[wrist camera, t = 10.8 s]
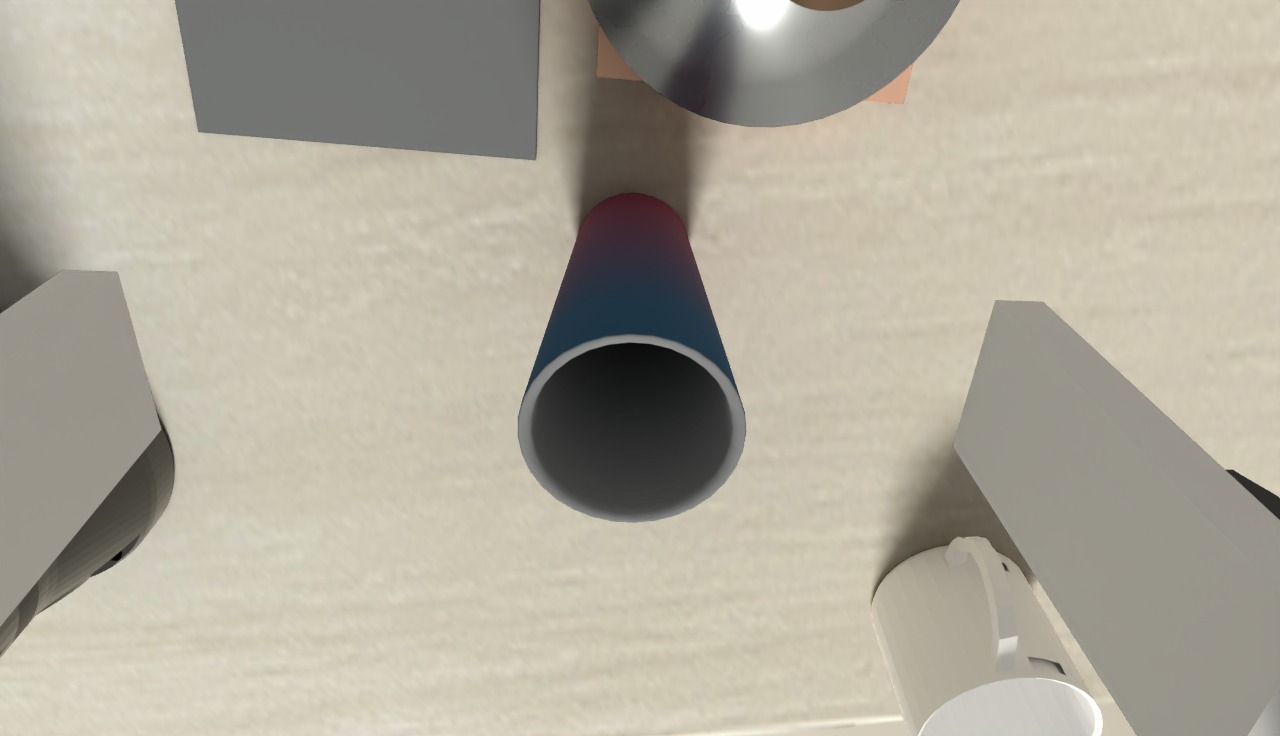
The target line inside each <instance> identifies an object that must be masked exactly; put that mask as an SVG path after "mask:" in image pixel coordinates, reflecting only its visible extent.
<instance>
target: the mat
mask: <svg viewBox="0 0 1280 736" xmlns="http://www.w3.org/2000/svg"><path fill="white" fill-rule="evenodd" d="M175 4H176V9H177V15H178V20H179V26H180V32H181V37H182V43H183V48H184V54H185V60H186V65H187V71H188V76H189V82H190V88H191V93H192V99H193V104H194V110H195V115H196V121H197V127H198V132H203V133H215V134H227V135H239V136H251V137H263V138H275V139H287V140H299V141H311V142H323V143H335V144H347V145H359V146H371V147H383V148H395V149H407V150H419V151H431V152H443V153H455V154H467V155H479V156H491V157H503V158H515V159H527V160H536V148H537V106H538V65H539V23H540V0H175Z"/></svg>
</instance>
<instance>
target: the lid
mask: <svg viewBox="0 0 1280 736" xmlns="http://www.w3.org/2000/svg"><path fill="white" fill-rule="evenodd" d="M588 1H589V3H590V6H591V8H592V11H593V13H594V15H595V17H596V18H597V20H598V22H599V24H600V26H601V28H602V30H603V32H604V33H605V35H606V37H607V38H608V40H609V41H610V42H611V44H612V45H613V47H614V48H615V49H616V51H617V52H618V54H619V55H620V57H621V58H622V59H623V60H624V61H625V62H626V63H627V64H628V65H629V66H630V68H631V69H632V70H633V71H634V72H635V73H636V74H637V75H638V76H639V77H640V78H641V79H642V80H644V81H645V82H646V83H647V84H648V85H650V86H651V87H652V88H653V89H654V90H655V91H657V92H658V93H659V94H661V95H663V96H664V97H666V98H667V99H669V100H671V101H672V102H674V103H675V104H677V105H678V106H680V107H683V108H685V109H687V110H689V111H691V112H694V113H696V114H698V115H700V116H703V117H706V118H710V119H713V120H716V121H720V122H723V123H728V124H734V125H741V126H747V127H780V126H789V125H798V124H802V123H806V122H810V121H814V120H818V119H822V118H825V117H827V116H830V115H833V114H835V113H838V112H841V111H843V110H846V109H848V108H850V107H852V106H853V105H855V104H857V103H859V102H861V101H863V100H865V99H867V98H869V97H870V96H872V95H873V94H875V93H876V92H878V91H879V90H880V89H882V88H883V87H885V86H886V85H888V84H889V83H891V82H892V81H893V80H894V79H895V78H897V77H898V76H899V75H900V74H901V73H902V72H903V71H905V70H906V69H907V68H908V67H909V66H910V65H912V64H913V63H914V61H915V60H916V59H917V58H918V57H919V56H920V55H921V54H922V53H923V52H924V51H925V50H926V48H927V47H928V46H929V45H930V44H931V43H932V42H933V40H934V39H935V38H936V36H937V35H938V34H939V32H940V31H941V29H942V28H943V27H944V25H945V24H946V23H947V21H948V20H949V18H950V17H951V15H952V13H953V12H954V10H955V8H956V6H957V5H958V3H959V1H960V0H588Z"/></svg>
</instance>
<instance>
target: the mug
mask: <svg viewBox="0 0 1280 736" xmlns="http://www.w3.org/2000/svg"><path fill="white" fill-rule="evenodd" d="M871 618H872V624H873V627H874V630H875V633H876V636H877V639H878V642H879V645H880V648H881V652H882V655H883V658H884V661H885V664H886V667H887V670H888V673H889V676H890V679H891V682H892V686H893V689H894V692H895V695H896V698H897V701H898V704H899V707H900V710H901V713H902V717H903V720H904V723H905V726H906V729H907V732H908V735H909V736H1100V735H1101V733H1102V724H1103V720H1102V716H1101V711H1100V709H1099V707H1098V705H1097V704H1096V702H1095V700H1094V698H1093V697H1092V695H1091V693H1090V691H1089V690H1088V688H1087V686H1086V684H1085V682H1084V681H1083V679H1082V677H1081V675H1080V674H1079V672H1078V670H1077V668H1076V667H1075V665H1074V663H1073V661H1072V659H1071V658H1070V656H1069V654H1068V652H1067V651H1066V649H1065V647H1064V645H1063V644H1062V642H1061V640H1060V638H1059V636H1058V635H1057V633H1056V631H1055V629H1054V628H1053V626H1052V624H1051V622H1050V621H1049V619H1048V617H1047V615H1046V614H1045V612H1044V610H1043V608H1042V606H1041V605H1040V603H1039V601H1038V599H1037V598H1036V596H1035V594H1034V592H1033V591H1032V589H1031V587H1030V585H1029V583H1028V582H1027V580H1026V578H1025V576H1024V575H1023V573H1022V572H1021V570H1020V568H1019V567H1018V566H1017V565H1016V564H1015V563H1014V562H1013V561H1012V560H1011V559H1009V558H1007V557H1005V556H1004V555H1002V554H1000V553H998V552H996V551H995V549H994V548H993V547H992V546H991V544H990V542H989V540H987V539H986V538H980V537H979V536H975V537H965V538H961V537H956V539H953V540H952V542H951V543H950V545H947V546H940V547H936V548H932V549H929V550H926V551H922V552H920V553H918V554H916V555H914V556H912V557H909V558H908V559H906V560H905V561H903V562H902V563H900V564H899V565H897V566H896V567H895V568H894V569H893V570H892V571H891V572H889V573H888V574H887V575H886V577H885V578H884V579H883V581H882V582H881V583H880V585H879V587H878V589H877V591H876V593H875V596H874V598H873V601H872V607H871Z"/></svg>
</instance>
